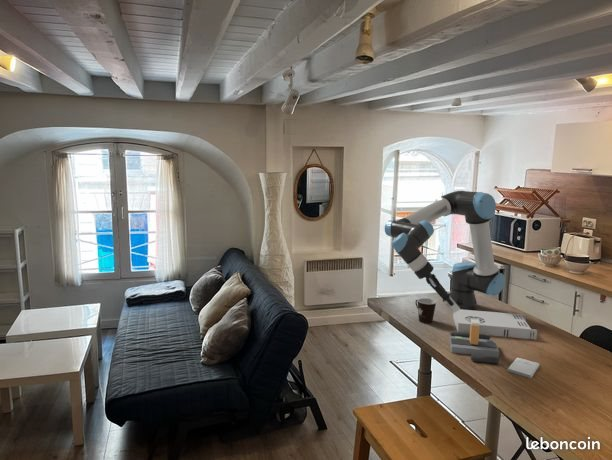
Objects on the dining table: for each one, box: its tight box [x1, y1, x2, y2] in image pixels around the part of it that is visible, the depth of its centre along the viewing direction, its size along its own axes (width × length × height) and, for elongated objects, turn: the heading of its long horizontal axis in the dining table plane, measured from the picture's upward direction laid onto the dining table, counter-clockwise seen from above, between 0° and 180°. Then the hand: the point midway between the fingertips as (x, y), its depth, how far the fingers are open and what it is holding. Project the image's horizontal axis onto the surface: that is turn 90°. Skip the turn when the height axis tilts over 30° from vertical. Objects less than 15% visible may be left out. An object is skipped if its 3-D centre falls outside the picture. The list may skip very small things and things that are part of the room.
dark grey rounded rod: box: [450, 331, 491, 340], centre depth 193 cm, size 16×2×2 cm, turn 76°
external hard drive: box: [507, 357, 540, 379], centre depth 167 cm, size 2×8×12 cm
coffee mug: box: [415, 297, 437, 324], centre depth 213 cm, size 12×9×10 cm
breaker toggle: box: [469, 319, 480, 345], centre depth 181 cm, size 3×4×9 cm
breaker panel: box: [448, 335, 500, 359], centre depth 183 cm, size 18×11×3 cm, turn 76°
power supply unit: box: [452, 309, 538, 340], centre depth 205 cm, size 19×33×5 cm, turn 78°
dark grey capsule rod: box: [470, 355, 500, 365], centre depth 171 cm, size 10×2×2 cm, turn 76°
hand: (457, 310), depth 182 cm, fingers closed
